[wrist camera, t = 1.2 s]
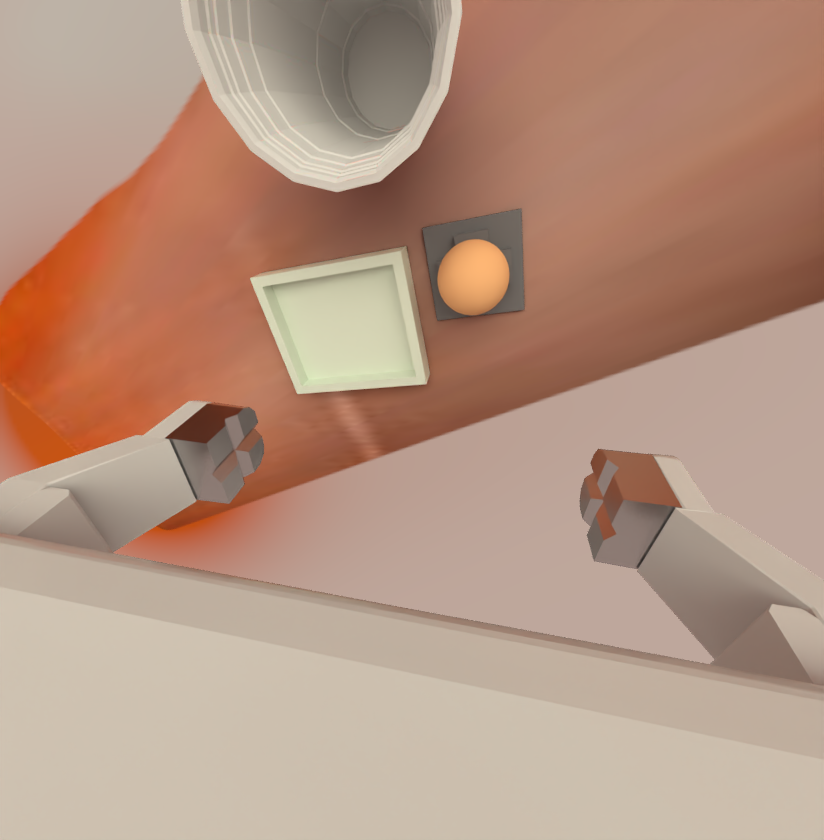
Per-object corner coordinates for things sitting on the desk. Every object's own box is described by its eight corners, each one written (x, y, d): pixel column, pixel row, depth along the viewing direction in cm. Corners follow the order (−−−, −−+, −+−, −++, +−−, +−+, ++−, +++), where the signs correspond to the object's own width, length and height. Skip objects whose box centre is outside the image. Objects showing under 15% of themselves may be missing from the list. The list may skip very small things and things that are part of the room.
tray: (406, 245, 28) (400, 250, 27) (430, 373, 34) (426, 384, 32) (262, 272, 32) (249, 278, 30) (306, 384, 38) (297, 394, 36)
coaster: (521, 208, 25) (521, 210, 25) (524, 308, 29) (524, 312, 28) (423, 227, 27) (420, 229, 27) (437, 319, 31) (435, 323, 30)
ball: (507, 227, 26) (507, 239, 22) (510, 298, 29) (511, 320, 25) (437, 240, 27) (426, 253, 23) (447, 307, 30) (438, 329, 26)
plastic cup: (356, 208, 28) (277, 233, 18) (277, 20, 23) (108, -88, 13) (501, 136, 23) (499, 117, 14) (443, -114, 18) (377, -417, 9)
